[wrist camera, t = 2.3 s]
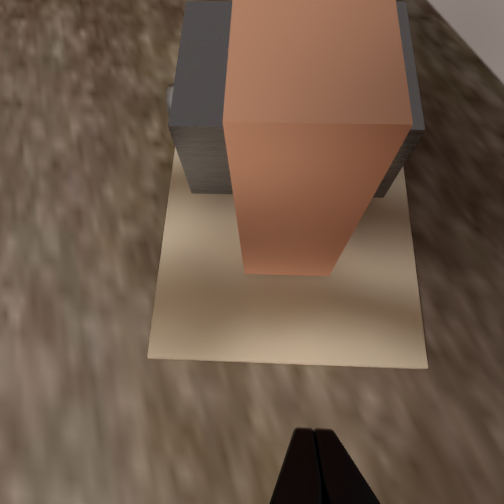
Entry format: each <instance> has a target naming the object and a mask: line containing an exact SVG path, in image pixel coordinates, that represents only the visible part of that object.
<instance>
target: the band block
mask: <svg viewBox="0 0 504 504" xmlns="http://www.w3.org/2000/svg"><path fill="white" fill-rule="evenodd" d="M396 6H397V13H398V21H399V28H400V35H401V42H402V49H403V56H404V64H405V71H406V78H407V85H408V92H409V99H410V107H411V114H412V121H413V126H412V127H411V129H410V131H409V133H408V135H407V136H406V138H405V140H404V142H403V144H402V145H401V147H400V149H399V151H398V153H397V154H396V156H395V158H394V160H393V162H392V163H391V165H390V167H389V169H388V171H387V172H386V174H385V176H384V178H383V180H382V181H381V183H380V185H379V187H378V189H377V190H376V192H375V194H374V196H373V197H377V198H384V196H385V195H386V193H387V192H388V190H389V188H390V187H391V185H392V183H393V182H394V180H395V178H396V177H397V175H398V174H399V172H400V170H401V169H402V167H403V165H404V164H405V162H406V160H407V159H408V157H409V156H410V154H411V152H412V151H413V149H414V147H415V146H416V144H417V142H418V141H419V139H420V138H421V136H422V134H423V133H424V131H425V125H424V118H423V112H422V105H421V99H420V92H419V86H418V79H417V72H416V66H415V59H414V53H413V46H412V40H411V33H410V27H409V20H408V14H407V7H406V2H396ZM231 14H232V1H186V6H185V13H184V20H183V27H182V34H181V41H180V48H179V55H178V61H177V68H176V75H175V82H174V84H169V85H168V88H167V110H168V115H169V123H168V127H169V130H170V133H171V136H172V139H173V141H174V144H175V147H176V150H177V153H178V156H179V159H180V162H181V164H182V167H183V170H184V173H185V176H186V179H187V182H188V184H189V187H190V190H191V193H192V194H233V191H232V184H231V177H230V170H229V163H228V156H227V149H226V142H225V135H224V128H223V111H224V98H225V86H226V74H227V62H228V50H229V38H230V26H231Z"/></svg>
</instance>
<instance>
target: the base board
mask: <svg viewBox="0 0 504 504" xmlns="http://www.w3.org/2000/svg"><path fill="white" fill-rule="evenodd" d="M147 358H150V359H172V360H198V361H224V362H250V363H276V364H302V365H328V366H354V367H380V368H406V369H427V368H428V364H427V356H426V348H425V339H424V331H423V323H422V315H421V307H420V299H419V290H418V282H417V274H416V266H415V258H414V249H413V241H412V233H411V225H410V217H409V208H408V200H407V192H406V184H405V176H404V168H403V167H402V169H401V170H400V172H399V174H398V175H397V177H396V178H395V180H394V182H393V183H392V185H391V187H390V188H389V190H388V192H387V193H386V195H385V196H384V198H377V197H373V198H372V199H371V201H370V203H369V205H368V207H367V209H366V210H365V212H364V214H363V216H362V218H361V219H360V221H359V223H358V225H357V227H356V228H355V230H354V232H353V234H352V236H351V237H350V239H349V241H348V243H347V245H346V246H345V248H344V250H343V252H342V254H341V255H340V257H339V259H338V261H337V263H336V264H335V266H334V268H333V270H332V272H331V273H330V275H329V276H302V275H268V274H245V273H244V266H243V260H242V253H241V246H240V239H239V232H238V225H237V218H236V211H235V204H234V197H233V194H192V193H191V190H190V187H189V184H188V182H187V179H186V176H185V173H184V170H183V167H182V164H181V162H180V159H179V156H178V153H177V150H176V147H175V153H174V161H173V168H172V176H171V183H170V191H169V198H168V206H167V213H166V220H165V228H164V235H163V243H162V250H161V258H160V265H159V273H158V280H157V288H156V295H155V303H154V310H153V318H152V325H151V333H150V340H149V348H148V355H147Z"/></svg>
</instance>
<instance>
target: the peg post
mask: <svg viewBox="0 0 504 504" xmlns="http://www.w3.org/2000/svg"><path fill="white" fill-rule="evenodd" d="M412 126H413V121H412V114H411V107H410V99H409V92H408V85H407V78H406V71H405V64H404V56H403V49H402V42H401V35H400V28H399V21H398V13H397V6H396V0H233V1H232V14H231V26H230V38H229V50H228V62H227V74H226V86H225V98H224V111H223V128H224V135H225V142H226V149H227V156H228V163H229V170H230V177H231V184H232V191H233V197H234V204H235V211H236V218H237V225H238V232H239V239H240V246H241V253H242V260H243V266H244V273H245V274H268V275H302V276H329V275H330V273H331V272H332V270H333V268H334V266H335V264H336V263H337V261H338V259H339V257H340V255H341V254H342V252H343V250H344V248H345V246H346V245H347V243H348V241H349V239H350V237H351V236H352V234H353V232H354V230H355V228H356V227H357V225H358V223H359V221H360V219H361V218H362V216H363V214H364V212H365V210H366V209H367V207H368V205H369V203H370V201H371V199H372V198H373V196H374V194H375V192H376V190H377V189H378V187H379V185H380V183H381V181H382V180H383V178H384V176H385V174H386V172H387V171H388V169H389V167H390V165H391V163H392V162H393V160H394V158H395V156H396V154H397V153H398V151H399V149H400V147H401V145H402V144H403V142H404V140H405V138H406V136H407V135H408V133H409V131H410V129H411V127H412Z"/></svg>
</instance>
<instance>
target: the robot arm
mask: <svg viewBox="0 0 504 504" xmlns="http://www.w3.org/2000/svg"><path fill="white" fill-rule="evenodd" d="M270 504H380V502H379V500H378V499H377V497H376V496H375V494H374V493H373V491H372V490H371V488H370V487H369V485H368V483H367V482H366V480H365V479H364V477H363V476H362V474H361V473H360V471H359V469H358V468H357V466H356V465H355V463H354V462H353V460H352V459H351V457H350V456H349V454H348V452H347V451H346V449H345V448H344V446H343V445H342V443H341V442H340V440H339V438H338V437H337V435H336V434H335V432H334V431H333V430H331V429H323V428H316V429H314V431H313V429H311V428H300V427H297V428H295V429H294V431H293V434H292V437H291V440H290V443H289V446H288V449H287V452H286V455H285V458H284V461H283V464H282V468H281V471H280V474H279V477H278V480H277V483H276V486H275V489H274V492H273V495H272V498H271V501H270Z"/></svg>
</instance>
